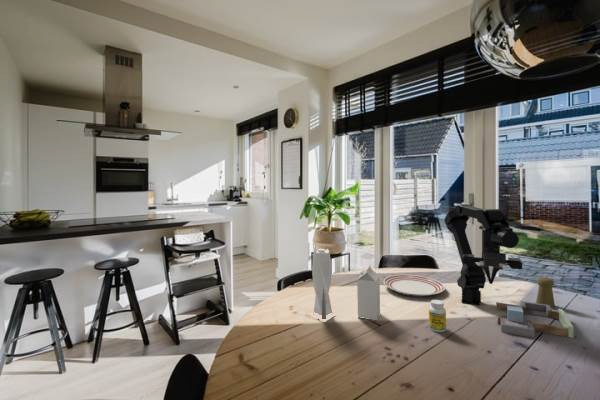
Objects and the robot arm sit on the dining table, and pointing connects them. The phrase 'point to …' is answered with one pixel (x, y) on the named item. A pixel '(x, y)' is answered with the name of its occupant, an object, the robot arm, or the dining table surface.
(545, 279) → the cork
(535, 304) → the trap pockets
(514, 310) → the slate block
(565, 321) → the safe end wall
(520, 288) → the dining table surface
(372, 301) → the milk carton
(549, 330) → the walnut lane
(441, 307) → the supplement bottle
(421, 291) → the dinner plate
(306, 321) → the dining table surface
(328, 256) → the skyscraper
